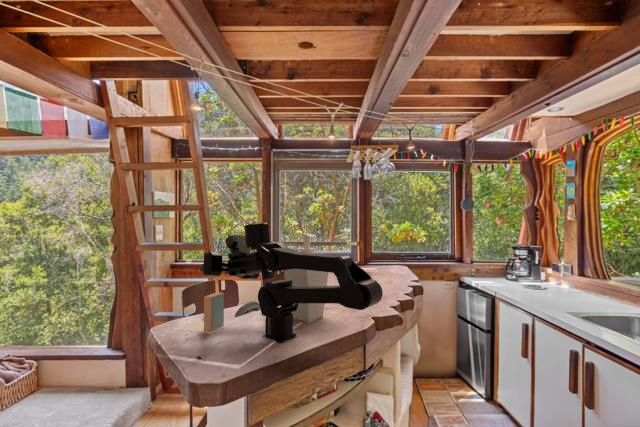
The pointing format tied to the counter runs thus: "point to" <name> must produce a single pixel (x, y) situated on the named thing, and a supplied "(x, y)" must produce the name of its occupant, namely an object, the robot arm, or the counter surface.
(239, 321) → the counter surface
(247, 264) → the robot arm
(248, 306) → the ceramic fragment
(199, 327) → the mat
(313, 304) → the soap bottle
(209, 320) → the block
